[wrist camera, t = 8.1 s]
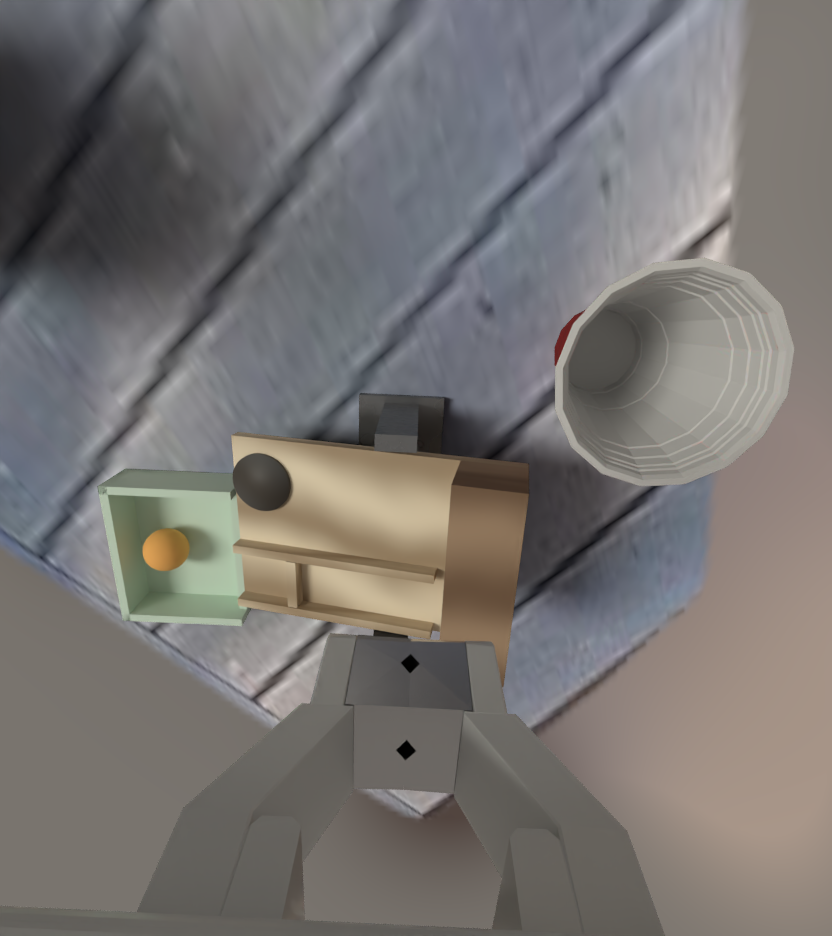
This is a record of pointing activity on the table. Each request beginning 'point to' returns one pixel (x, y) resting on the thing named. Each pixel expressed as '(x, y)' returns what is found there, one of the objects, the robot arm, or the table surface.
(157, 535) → the ball
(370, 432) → the stand
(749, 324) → the plastic cup
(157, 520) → the tray
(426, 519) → the lever
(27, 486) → the table surface
